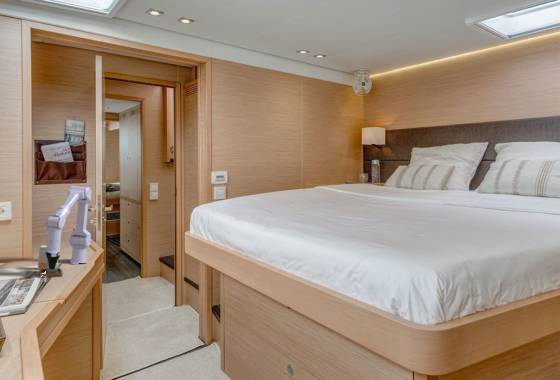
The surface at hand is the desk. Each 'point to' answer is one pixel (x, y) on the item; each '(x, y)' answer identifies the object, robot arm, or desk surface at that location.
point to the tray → (57, 274)
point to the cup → (51, 269)
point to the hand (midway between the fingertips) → (51, 267)
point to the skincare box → (42, 258)
